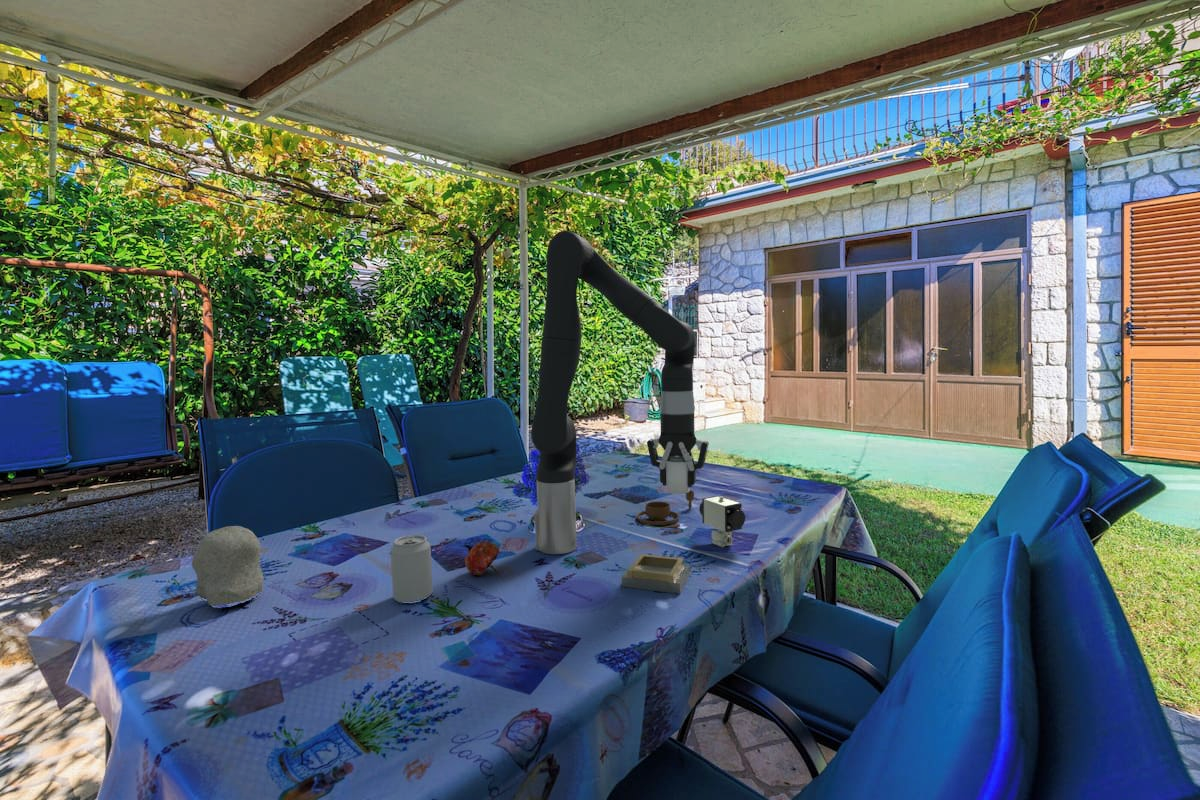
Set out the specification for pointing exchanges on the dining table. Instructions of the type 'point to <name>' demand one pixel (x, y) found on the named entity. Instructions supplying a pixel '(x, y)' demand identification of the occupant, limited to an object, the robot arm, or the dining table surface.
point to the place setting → (662, 512)
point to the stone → (228, 566)
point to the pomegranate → (481, 557)
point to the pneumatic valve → (722, 518)
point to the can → (411, 568)
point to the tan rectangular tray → (657, 574)
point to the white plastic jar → (677, 475)
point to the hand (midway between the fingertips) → (677, 485)
